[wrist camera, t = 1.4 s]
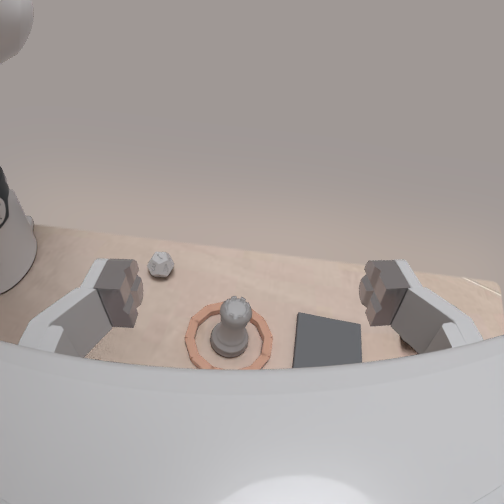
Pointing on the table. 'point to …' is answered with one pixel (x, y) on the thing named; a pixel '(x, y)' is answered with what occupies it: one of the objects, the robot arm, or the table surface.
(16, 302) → the table surface
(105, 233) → the table surface
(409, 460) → the robot arm
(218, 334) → the rook chess piece
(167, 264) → the game die
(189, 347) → the terracotta ring
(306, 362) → the charcoal mat
